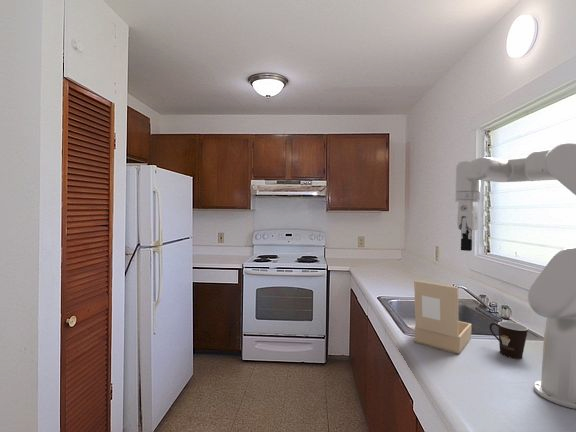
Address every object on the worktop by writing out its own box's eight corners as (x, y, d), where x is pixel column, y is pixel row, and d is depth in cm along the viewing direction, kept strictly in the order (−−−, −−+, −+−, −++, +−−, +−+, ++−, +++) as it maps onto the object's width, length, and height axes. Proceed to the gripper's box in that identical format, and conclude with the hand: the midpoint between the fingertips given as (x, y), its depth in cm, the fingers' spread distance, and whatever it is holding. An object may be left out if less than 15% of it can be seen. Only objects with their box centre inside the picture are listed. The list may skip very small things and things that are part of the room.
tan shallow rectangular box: (470, 339, 131) (471, 323, 131) (459, 354, 117) (459, 337, 117) (429, 329, 140) (430, 314, 140) (414, 342, 126) (415, 325, 126)
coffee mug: (532, 361, 114) (534, 331, 114) (505, 359, 114) (507, 329, 114) (510, 346, 126) (512, 319, 125) (486, 345, 126) (488, 318, 126)
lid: (458, 287, 113) (457, 288, 113) (458, 336, 117) (457, 338, 116) (414, 280, 122) (414, 281, 121) (416, 326, 126) (415, 327, 125)
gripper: (475, 196, 112) (474, 252, 112) (483, 198, 124) (482, 249, 124) (450, 196, 117) (449, 251, 117) (460, 198, 128) (459, 248, 128)
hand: (466, 250), depth 120 cm, fingers closed
